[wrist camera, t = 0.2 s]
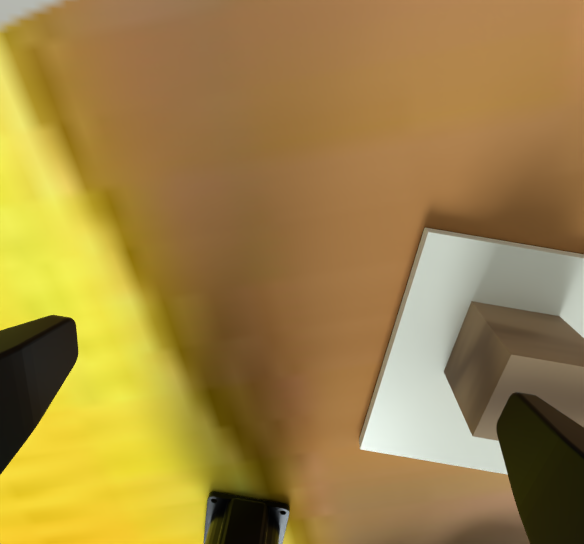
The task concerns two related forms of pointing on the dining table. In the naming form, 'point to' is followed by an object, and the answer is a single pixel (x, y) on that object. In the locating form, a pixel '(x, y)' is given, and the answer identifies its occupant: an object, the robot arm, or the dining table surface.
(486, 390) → the walnut block
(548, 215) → the dining table surface
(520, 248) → the board
